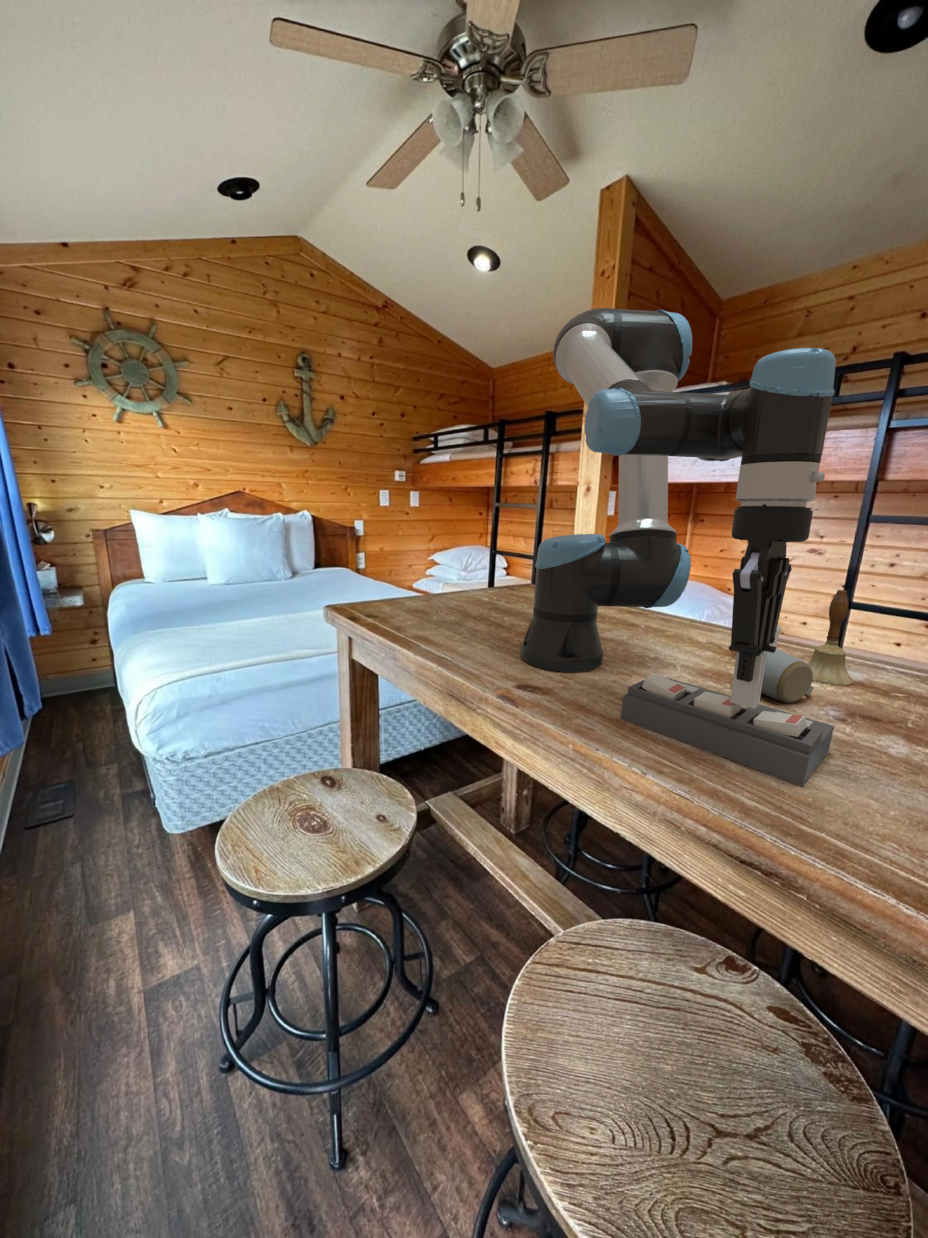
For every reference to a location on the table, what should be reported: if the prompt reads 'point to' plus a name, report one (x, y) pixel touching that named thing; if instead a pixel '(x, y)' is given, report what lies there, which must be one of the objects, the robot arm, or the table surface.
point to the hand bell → (832, 648)
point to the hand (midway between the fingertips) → (744, 703)
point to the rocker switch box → (730, 732)
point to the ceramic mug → (786, 677)
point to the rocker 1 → (664, 687)
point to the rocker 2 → (781, 723)
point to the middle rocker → (716, 704)
